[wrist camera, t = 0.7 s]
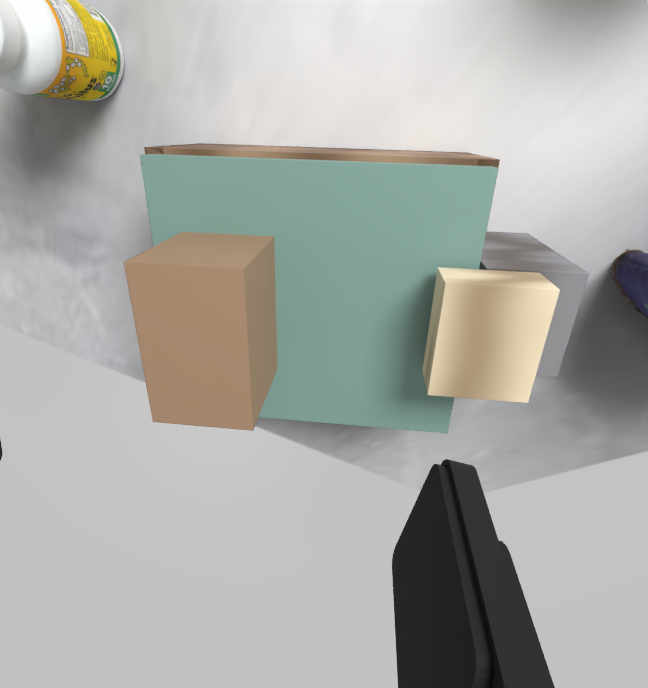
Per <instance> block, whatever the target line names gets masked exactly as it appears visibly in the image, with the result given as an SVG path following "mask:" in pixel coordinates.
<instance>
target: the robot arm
mask: <svg viewBox="0 0 648 688" xmlns="http://www.w3.org/2000/svg"><path fill="white" fill-rule="evenodd" d="M1 457H2V448H1V441H0V460H1ZM392 571H393V572H392V574H393V594H394V613H395V633H396V652H397V672H398V688H554V685H553V682H552V679H551V676H550V673H549V670H548V666H547V663H546V661H545V658H544V654H543V651H542V649H541V645H540V642H539V639H538V636H537V633H536V630H535V627H534V624H533V621H532V618H531V615H530V612H529V609H528V606H527V603H526V600H525V597H524V595H523V591H522V588H521V585H520V582H519V579H518V576H517V573H516V570H515V567H514V564H513V561H512V559H511V555H510V553H509V551H508V549H507V547H506V545H505V544H504V543H503V542H502V541H498V538H497V535H496V532H495V529H494V525H493V522H492V519H491V516H490V513H489V509H488V506H487V503H486V500H485V497H484V493H483V490H482V487H481V484H480V481H479V478H478V474H477V471H476V469H475V467H473V466H472V465H468V464H464V463H460V462H456V461H452V460H448V459H447V460H444V461H443V462H442V464H441V465H438V464H434V465H433V466H432V468H431V470H430V472H429V474H428V476H427V479H426V481H425V483H424V485H423V487H422V490H421V492H420V494H419V496H418V499H417V501H416V503H415V505H414V507H413V509H412V512H411V514H410V516H409V518H408V520H407V522H406V525H405V527H404V529H403V531H402V533H401V536H400V538H399V540H398V542H397V544H396V547H395V549H394V553H393V559H392Z"/></svg>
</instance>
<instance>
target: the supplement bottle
mask: <svg viewBox="0 0 648 688" xmlns="http://www.w3.org/2000/svg"><path fill="white" fill-rule="evenodd" d="M123 71H124V54H123V49H122V46H121V43H120V40H119V38H118V35H117V33H116V31H115V29H114V28H113V26H112V25H111V24H110V22H109V21H108V20H107V19H106V18H105V17H104V16H103V15H102V14H101V13H100V12H99V11H98V10H96V9H95V8H93V7H92V6H90V5H88V4H86V3H84V2H82V1H79V0H0V88H2V89H4V90H6V91H9V92H12V93H17V94H23V95H32V96H43V97H54V98H64V99H73V100H82V101H98V100H102V99H104V98H107V97H109V96H110V95H111V94H112V93H113V92H114V91H115V89H116V88H117V86H118V84H119V82H120V80H121V78H122V75H123Z"/></svg>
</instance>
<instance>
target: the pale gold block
mask: <svg viewBox="0 0 648 688" xmlns="http://www.w3.org/2000/svg"><path fill="white" fill-rule="evenodd" d="M559 292H560V289H558V288H557V287H556V286H555V285H554V284H552V283H551V282H550V281H549V280H548V279H547V278H545V277H544V276H543V275H542V274H541V273H534V272H516V271H497V270H479V269H461V268H442V267H438V269H437V276H436V282H435V289H434V296H433V302H432V309H431V316H430V323H429V329H428V336H427V343H426V349H425V356H424V363H423V375H424V380H425V385H426V389H427V394H428V395H433V396H446V397H459V398H472V399H485V400H498V401H511V402H524V403H528V401H529V397H530V394H531V390H532V387H533V383H534V380H535V376H536V373H537V369H538V366H539V362H540V359H541V355H542V352H543V348H544V345H545V341H546V338H547V334H548V331H549V327H550V324H551V320H552V317H553V313H554V310H555V306H556V303H557V299H558V296H559Z"/></svg>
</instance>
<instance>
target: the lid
mask: <svg viewBox="0 0 648 688" xmlns="http://www.w3.org/2000/svg"><path fill="white" fill-rule="evenodd" d="M140 160H141V166H142V173H143V180H144V187H145V193H146V200H147V207H148V213H149V220H150V227H151V233H152V240H153V247H152V248H150V249H148V250H146V251H144V252H142V253H140V254H139V255H137V256H135V257H133V258H131V259H129V260H127V261H125V262H124V266H125V272H126V277H127V283H128V288H129V293H130V299H131V304H132V310H133V315H134V321H135V326H136V332H137V337H138V343H139V348H140V354H141V359H142V364H143V370H144V375H145V381H146V386H147V392H148V397H149V402H150V408H151V413H152V419H153V422H160V423H172V424H183V425H195V426H207V427H219V428H230V429H242V430H253V429H254V427H255V424H256V422H257V419H258V417H260V418H272V419H284V420H296V421H308V422H320V423H332V424H344V425H356V426H368V427H380V428H392V429H404V430H416V431H428V432H440V433H447V432H448V427H449V422H450V416H451V411H452V406H453V401H454V397H446V396H433V395H428V394H427V389H426V385H425V380H424V375H423V363H424V356H425V349H426V343H427V336H428V329H429V323H430V316H431V309H432V302H433V296H434V289H435V282H436V276H437V269H438V267H442V268H461V269H479V266H480V261H481V256H482V251H483V246H484V241H485V235H486V230H487V225H488V220H489V215H490V209H491V204H492V199H493V194H494V189H495V184H496V178H497V173H498V168H497V167H493V166H472V165H445V164H417V163H390V162H362V161H335V160H307V159H280V158H252V157H225V156H197V155H170V154H144V155H140Z"/></svg>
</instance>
